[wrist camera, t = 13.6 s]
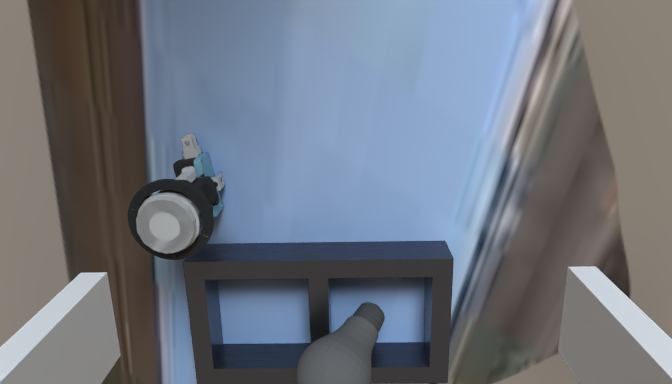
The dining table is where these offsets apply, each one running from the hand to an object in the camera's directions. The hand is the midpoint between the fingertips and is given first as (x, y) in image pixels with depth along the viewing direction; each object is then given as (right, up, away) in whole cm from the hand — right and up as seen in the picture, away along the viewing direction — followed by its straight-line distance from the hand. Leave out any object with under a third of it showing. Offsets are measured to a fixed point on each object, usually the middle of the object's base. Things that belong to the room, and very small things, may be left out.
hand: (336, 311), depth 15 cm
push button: (-10, +5, +27) cm, 29 cm away
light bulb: (+3, -6, +29) cm, 30 cm away
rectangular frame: (-1, -6, +30) cm, 30 cm away
